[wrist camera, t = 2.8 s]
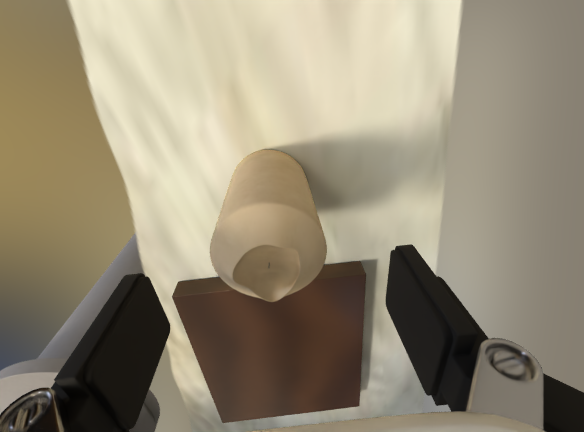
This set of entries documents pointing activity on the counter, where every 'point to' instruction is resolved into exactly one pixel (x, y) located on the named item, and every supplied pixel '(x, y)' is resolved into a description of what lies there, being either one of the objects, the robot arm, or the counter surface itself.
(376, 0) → the counter surface
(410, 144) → the counter surface
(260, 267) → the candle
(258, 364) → the walnut board
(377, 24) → the counter surface
